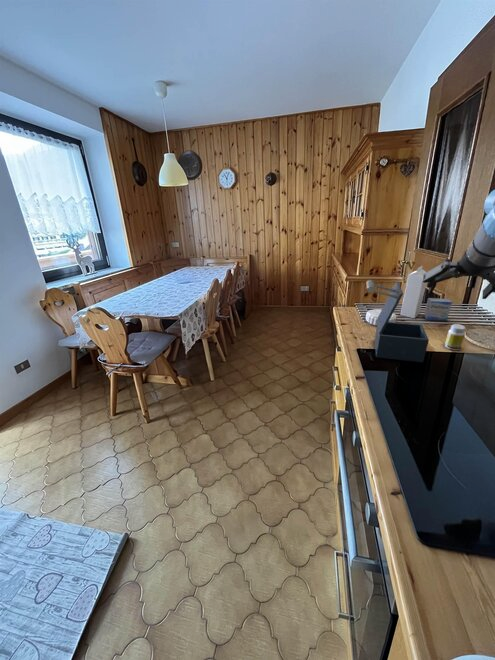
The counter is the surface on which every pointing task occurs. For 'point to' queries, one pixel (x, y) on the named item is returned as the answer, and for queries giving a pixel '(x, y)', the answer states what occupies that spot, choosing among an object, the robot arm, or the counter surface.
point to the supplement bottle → (455, 337)
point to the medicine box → (437, 309)
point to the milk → (413, 294)
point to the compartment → (401, 342)
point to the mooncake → (373, 315)
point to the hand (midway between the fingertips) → (456, 292)
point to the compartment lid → (390, 303)
